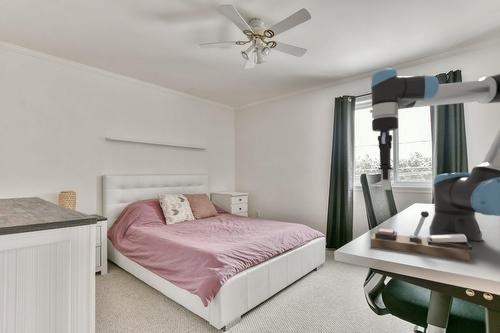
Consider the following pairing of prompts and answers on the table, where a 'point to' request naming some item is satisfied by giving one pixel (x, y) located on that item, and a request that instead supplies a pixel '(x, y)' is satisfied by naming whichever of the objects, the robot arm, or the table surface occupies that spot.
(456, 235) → the rocker switch
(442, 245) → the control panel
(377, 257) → the table surface
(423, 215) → the toggle lever
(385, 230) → the push button
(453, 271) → the table surface
